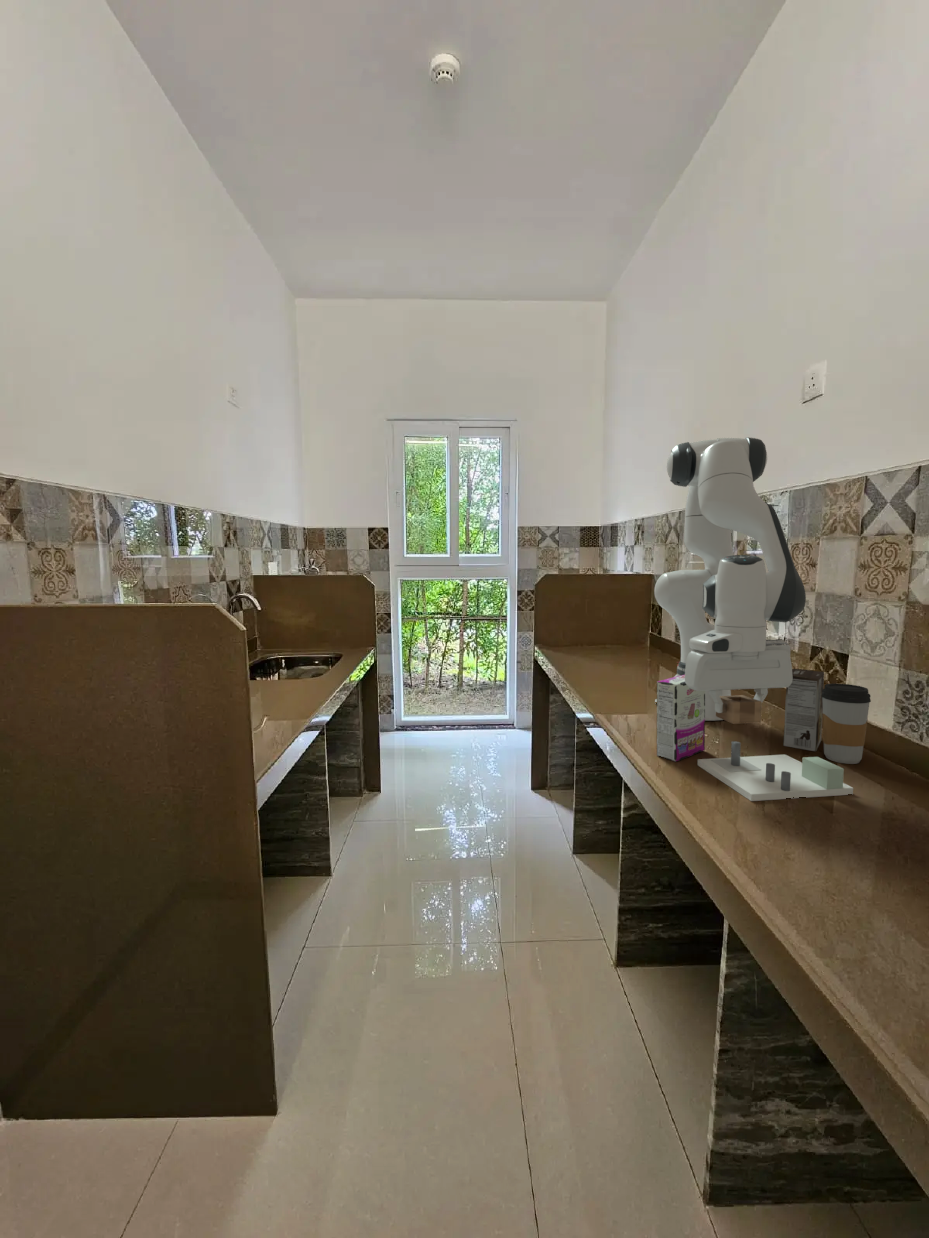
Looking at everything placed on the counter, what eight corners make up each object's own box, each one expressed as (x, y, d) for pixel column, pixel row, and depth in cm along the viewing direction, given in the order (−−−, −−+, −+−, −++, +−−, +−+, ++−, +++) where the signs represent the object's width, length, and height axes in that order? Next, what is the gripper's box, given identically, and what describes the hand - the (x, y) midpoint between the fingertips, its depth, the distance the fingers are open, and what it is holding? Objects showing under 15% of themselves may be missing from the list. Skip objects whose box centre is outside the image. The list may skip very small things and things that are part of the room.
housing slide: (801, 775, 99) (802, 757, 99) (816, 775, 100) (817, 756, 99) (826, 789, 93) (827, 769, 93) (842, 788, 94) (843, 768, 93)
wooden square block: (715, 716, 106) (716, 696, 106) (742, 714, 107) (742, 695, 107) (732, 723, 101) (733, 702, 101) (760, 722, 102) (761, 701, 101)
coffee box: (789, 735, 126) (792, 668, 125) (822, 741, 122) (825, 671, 121) (782, 746, 119) (785, 674, 118) (816, 751, 115) (820, 677, 114)
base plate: (697, 765, 109) (698, 737, 108) (784, 760, 111) (786, 733, 110) (751, 801, 92) (752, 768, 91) (852, 794, 94) (854, 762, 93)
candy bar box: (684, 745, 121) (685, 673, 119) (705, 751, 117) (707, 676, 115) (654, 756, 114) (655, 680, 113) (675, 762, 110) (677, 684, 109)
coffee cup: (876, 767, 106) (880, 692, 105) (829, 764, 108) (832, 691, 106) (854, 752, 114) (858, 683, 113) (811, 750, 116) (814, 682, 115)
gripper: (778, 637, 107) (776, 705, 108) (681, 639, 105) (680, 709, 106) (802, 640, 101) (799, 713, 102) (698, 643, 99) (697, 717, 100)
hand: (737, 711), depth 104 cm, fingers closed on wooden square block, 6 cm apart
